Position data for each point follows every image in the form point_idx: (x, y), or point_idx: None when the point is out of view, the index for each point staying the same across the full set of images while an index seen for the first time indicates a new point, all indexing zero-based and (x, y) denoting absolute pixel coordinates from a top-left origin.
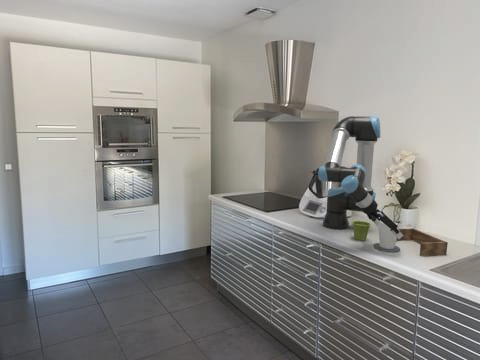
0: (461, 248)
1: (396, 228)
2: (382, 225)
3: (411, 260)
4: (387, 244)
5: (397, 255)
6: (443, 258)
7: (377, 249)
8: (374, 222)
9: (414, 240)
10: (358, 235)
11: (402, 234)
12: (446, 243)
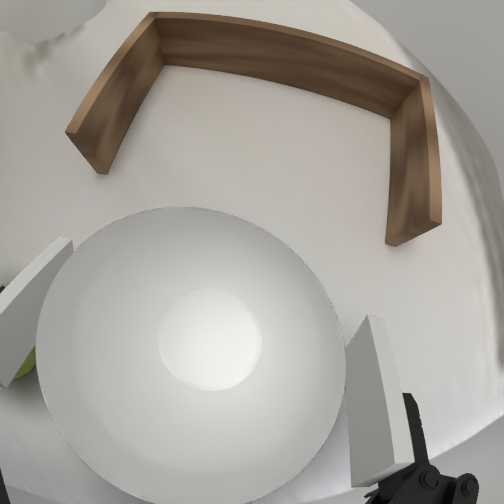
0: (335, 15)
1: (426, 455)
2: (194, 497)
3: (424, 362)
4: (251, 388)
5: None
6: None
7: None
8: (3, 386)
9: (185, 63)
10: None
11: (384, 328)
12: (427, 85)
